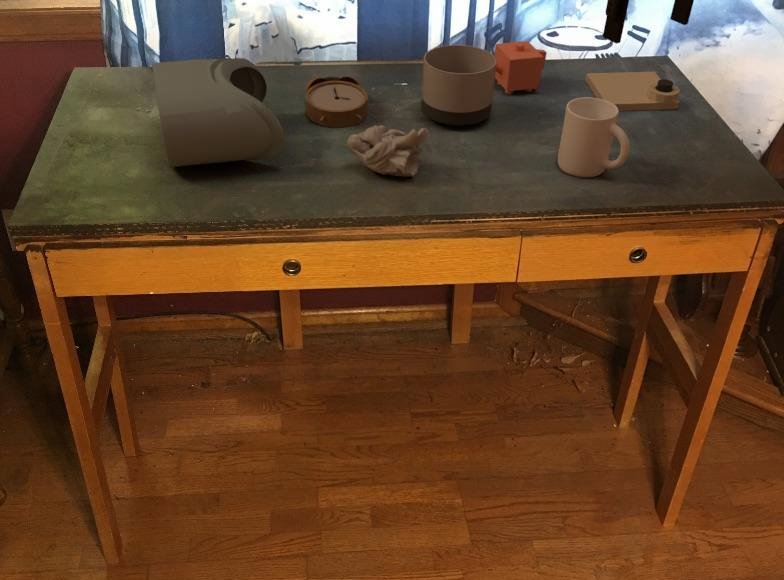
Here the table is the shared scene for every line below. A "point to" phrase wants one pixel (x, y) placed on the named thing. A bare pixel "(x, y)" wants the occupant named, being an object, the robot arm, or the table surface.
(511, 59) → the orange footed box
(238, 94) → the grey curved shell
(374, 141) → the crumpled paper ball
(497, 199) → the table surface
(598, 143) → the mug
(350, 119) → the alarm clock
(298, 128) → the table surface
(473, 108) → the planter
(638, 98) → the scale
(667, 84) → the button
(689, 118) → the table surface
